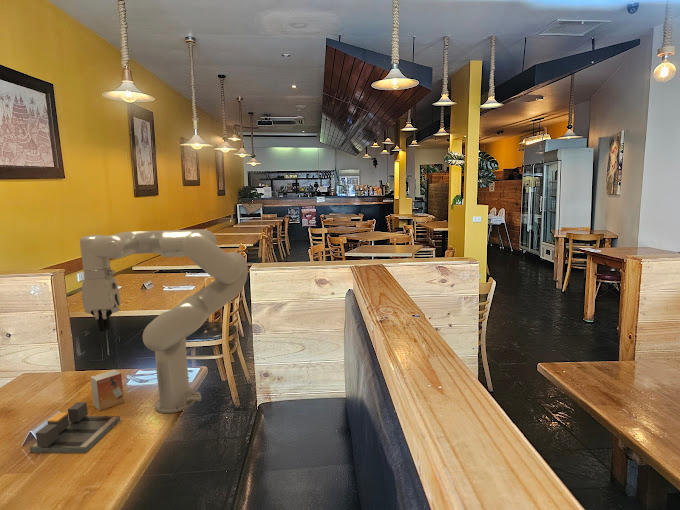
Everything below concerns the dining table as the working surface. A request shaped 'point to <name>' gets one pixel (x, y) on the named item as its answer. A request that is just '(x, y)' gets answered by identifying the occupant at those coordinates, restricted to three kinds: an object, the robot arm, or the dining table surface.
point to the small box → (107, 389)
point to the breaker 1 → (47, 435)
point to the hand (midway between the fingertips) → (104, 330)
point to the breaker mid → (60, 421)
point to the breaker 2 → (77, 411)
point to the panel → (80, 435)
